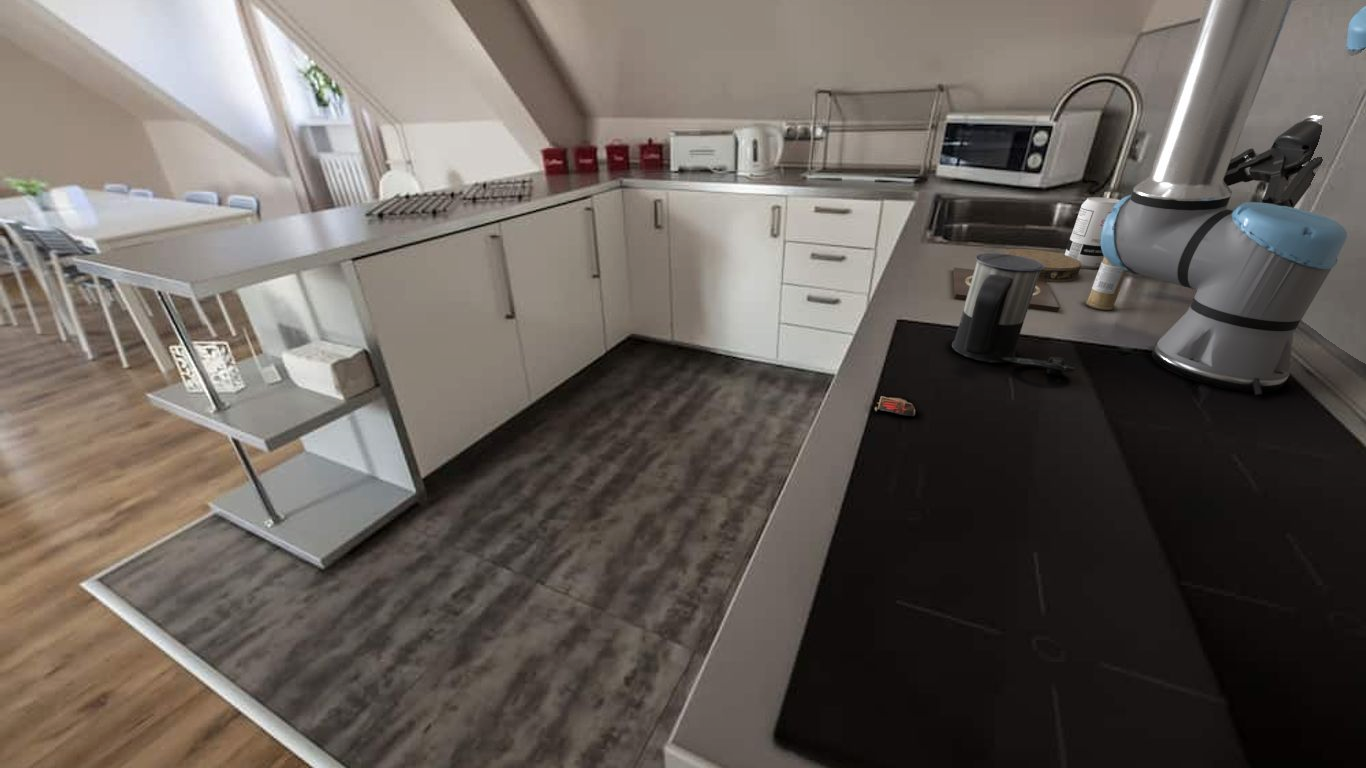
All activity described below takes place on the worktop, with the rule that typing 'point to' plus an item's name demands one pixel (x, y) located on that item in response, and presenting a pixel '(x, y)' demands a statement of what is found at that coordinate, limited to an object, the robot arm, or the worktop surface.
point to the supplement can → (1090, 232)
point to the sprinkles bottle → (1106, 286)
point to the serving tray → (1039, 300)
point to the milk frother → (1000, 311)
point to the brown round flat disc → (1051, 264)
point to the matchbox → (896, 406)
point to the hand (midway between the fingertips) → (1188, 226)
